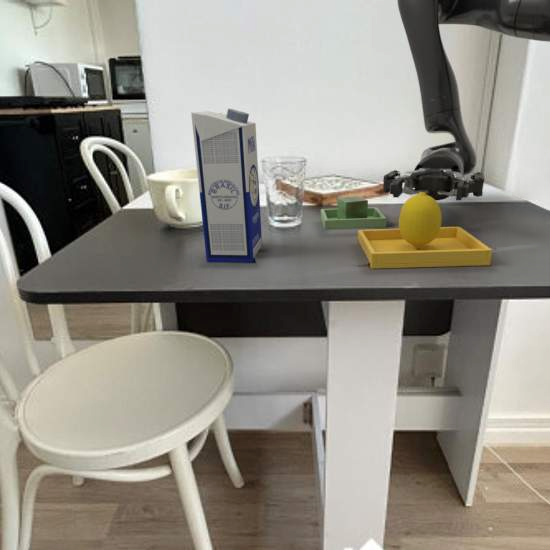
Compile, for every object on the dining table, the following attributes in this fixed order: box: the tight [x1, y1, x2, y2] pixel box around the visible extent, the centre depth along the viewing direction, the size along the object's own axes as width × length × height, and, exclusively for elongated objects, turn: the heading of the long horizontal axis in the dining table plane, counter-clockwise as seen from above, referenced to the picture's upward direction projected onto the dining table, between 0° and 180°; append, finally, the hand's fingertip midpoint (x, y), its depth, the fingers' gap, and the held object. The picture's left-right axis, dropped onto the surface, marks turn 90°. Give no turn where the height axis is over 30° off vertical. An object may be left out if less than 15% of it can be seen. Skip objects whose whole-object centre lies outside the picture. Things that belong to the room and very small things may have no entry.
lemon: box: [398, 192, 442, 249], centre depth 60 cm, size 6×6×8 cm
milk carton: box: [190, 108, 263, 263], centre depth 61 cm, size 7×7×20 cm
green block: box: [336, 195, 369, 219], centre depth 76 cm, size 4×4×4 cm
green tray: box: [320, 206, 387, 230], centre depth 76 cm, size 10×8×2 cm
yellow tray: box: [357, 226, 493, 270], centre depth 61 cm, size 15×11×2 cm
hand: (426, 191), depth 61 cm, fingers open, 8 cm apart
